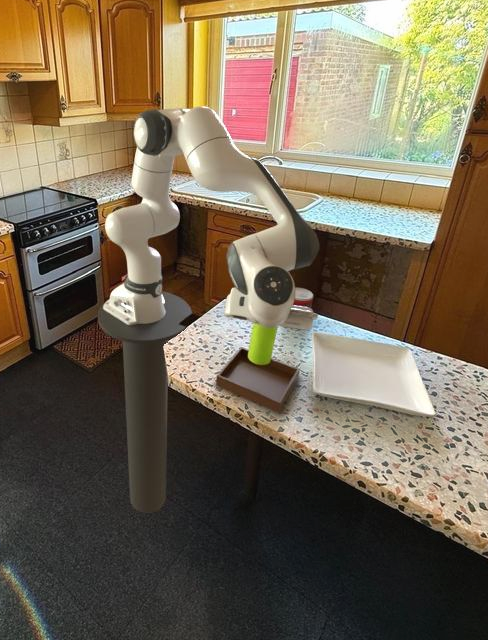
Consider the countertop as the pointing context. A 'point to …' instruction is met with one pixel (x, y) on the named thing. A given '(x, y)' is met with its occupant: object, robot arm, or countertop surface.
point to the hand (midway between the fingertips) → (266, 320)
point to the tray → (258, 380)
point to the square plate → (369, 374)
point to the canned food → (303, 297)
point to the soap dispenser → (261, 344)
